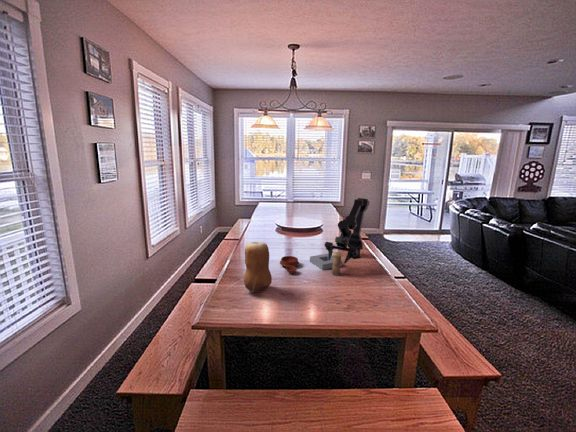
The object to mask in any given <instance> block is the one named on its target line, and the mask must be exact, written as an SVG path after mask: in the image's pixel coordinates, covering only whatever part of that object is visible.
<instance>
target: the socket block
mask: <svg viewBox="0 0 576 432" xmlns="http://www.w3.org/2000/svg"><path fill="white" fill-rule="evenodd" d="M309 263H311V264H312V265H314V266H315V265H316V267H317V268H318V267H319V268H318V269H320V270H321V269H322V270H321V271H325V270H324V269H326V270H330V268H331V269H332V267H333V255H332V256H331V259H330V260H329V259H328V253H323V254H317V255H316V254H315V255H311V256H309ZM342 265H343V260H341V266H340V268H341V267H343V266H342Z"/></svg>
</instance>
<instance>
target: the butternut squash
mask: <svg viewBox="0 0 576 432" xmlns="http://www.w3.org/2000/svg"><path fill="white" fill-rule="evenodd" d="M244 264H245V266H246V267H245V268H246V269H245V271H244V275H243V283H244V287H245V288H246V289H247V290H248V291H250V292H252V293H262V292H264V291H265V290H267V289H268V288H269V287H270V286H271V284H272V282H273V279H272V273H271V271H270V251H269V246H268V244H267V243H266V242H264V241H263V242H262V241H249V242H247V243H246V244H245V247H244Z"/></svg>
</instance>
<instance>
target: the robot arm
mask: <svg viewBox="0 0 576 432" xmlns="http://www.w3.org/2000/svg"><path fill="white" fill-rule="evenodd" d="M353 201H354V202H353V205H352V207H351V209H350V212H349V214H348V215H347V216H345V218H343V219H342V220H340V221H339V222H338V223H337V227H338V230H339V233H340V234H339V236H335V238H334V242H335V245H334V244H333V242H331V241H326V242H324V245H323V246H324V247H325V250H327V252H328V253H327V254H328V259H329V260H330V259H331V256H333V253H334V251H333V250H334V249H335V250H338V251H343V252H347V254H346V256H345V259H344V261H343V263H344V265H345V264H347V263H348V261H349V260H350V259H353V260H354V259H360V258H362V256H361V250H364V249H363V248H364V244H363V241H362V236H361V231H362V226H363V221H364V215H365V212H366V211H367V210H368V208H369V206H370V200H369V199H368V198H363V197H362V198H361V197H357V199H354V200H353Z"/></svg>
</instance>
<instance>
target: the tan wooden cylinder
mask: <svg viewBox="0 0 576 432" xmlns="http://www.w3.org/2000/svg"><path fill="white" fill-rule="evenodd" d="M342 255H343V254H342V252H339V251H333V253H332V256H333V267H332V268H331V275H332V274H333V275H332V276H334V275H335V276H334V277H339V276H341V267H342V266H341V261H342ZM340 266H341V267H340ZM338 275H339V276H338Z"/></svg>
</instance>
